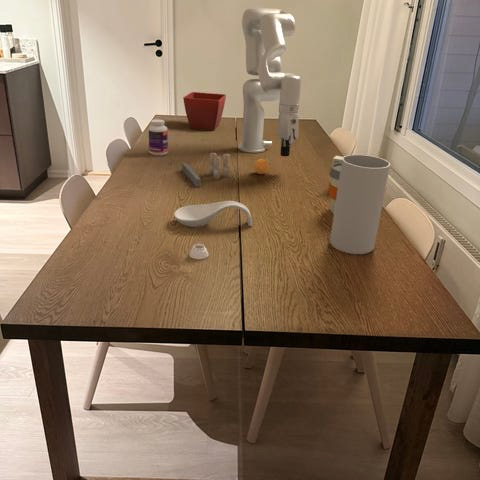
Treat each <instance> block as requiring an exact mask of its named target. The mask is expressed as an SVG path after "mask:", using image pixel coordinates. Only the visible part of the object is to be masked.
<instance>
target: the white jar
mask: <svg viewBox="0 0 480 480" xmlns="http://www.w3.org/2000/svg"><path fill="white" fill-rule="evenodd" d="M189 257H190V258H192V259H194V260H206V259H207V258H208V257H209V250H207V248H206V246H205V245H204V244H203V243H195V244H194V245H193V246H192V248H191V249H190V251H189Z"/></svg>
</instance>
